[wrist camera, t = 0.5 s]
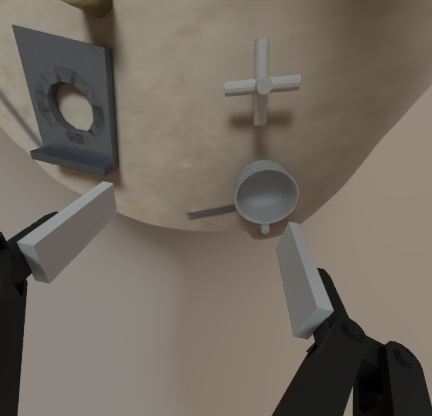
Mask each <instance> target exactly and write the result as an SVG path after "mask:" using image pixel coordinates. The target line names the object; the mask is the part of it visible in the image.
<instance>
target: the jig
mask: <svg viewBox="0 0 432 416" xmlns="http://www.w3.org/2000/svg"><path fill="white" fill-rule="evenodd" d="M12 27H13V31H14V35H15V39H16V43H17V46H18V50H19V54H20V58H21V62H22V66H23V70H24V73H25V77H26V81H27V85H28V89H29V93H30V96H31V100H32V104H33V108H34V112H35V116H36V120H37V123H38V127H39V131H40V135H41V139H42V143H43V147H42V148H39V149H35V150H32V151H30V153H31V156H32V159H35V160H39V161H43V162H47V163H52V164H56V165H60V166H64V167H68V168H73V169H77V170H81V171H85V172H89V173H94V174H98V175H102V176H106V175H107V174H109V173H110V172H112V171H113V170H115V169H116V168H118V167H119V165H118V148H117V132H116V115H115V98H114V82H113V65H112V49H108V48H105V47H101V46H97V45H93V44H89V43H85V42H81V41H77V40H73V39H68V38H64V37H60V36H56V35H52V34H48V33H44V32H40V31H36V30H32V29H28V28H24V27H20V26H16V25H12ZM64 83H70V84H73V85H74V86H75V87H77V88H78V89H79V90H80V91H81V92H83V93H84V94H85V96H86V98H87V99H88V101H89V103H90V105H91V107H92V111H93V120H94V121H93V123H92V125H91V127H90V129H89V130H87V131H84V130H80V129H76V128H75V127H73V126H72V125H71V124H70V123H68V122H67V121H66V120H65V119H64V117H63V115H62V114H61V112H60V111H59V109H58V105H57V100H56V94H57V91H58V88H59V86H60V85H62V84H64Z"/></svg>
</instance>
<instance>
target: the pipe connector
mask: <svg viewBox="0 0 432 416" xmlns="http://www.w3.org/2000/svg"><path fill="white" fill-rule="evenodd" d="M269 40H270V39H269V38H261V39H257V40H255V60H254V79H248V80H238V81H228V82H225V96H226V97H227V96H238V95H249V94H254V125H256V126H259V125H266V112H267V94H268V93H271V92H282V91H292V90H299V87H300V83H301V75H300V74H297V75H287V76H277V77H268V64H269Z"/></svg>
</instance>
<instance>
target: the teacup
mask: <svg viewBox="0 0 432 416" xmlns="http://www.w3.org/2000/svg"><path fill="white" fill-rule="evenodd" d="M298 200H299V187H298V184H297V182H296V180H295V179H294V178H293V177H292V176H291V175H290V174H289V173H288V171H287V170H286V169H285V168H284V167H283V166H281V165H280V164H278V163H276V162H274V161H270V160H259V161H255V162H252V163H250V164H248V165H247V166H246V167H244V168H243V169H242V170H241V172H240V173H239V175H238V177H237V179H236V182H235V193H234V204H235V207H236V209H237V211H238V213H239V214H240V215H241V216H242V217H243V218H244V219H246V220H248V221H249V222H252V223H257V224H260V230H261V233H262V234H268V233H269V232H270V225H269V224H271V223H275V222H278V221H280V220H282V219H284V218H286V217H287V216H288V215H289V214H291V212H292V211H293V210H294V209H295V207H296V205H297V203H298Z"/></svg>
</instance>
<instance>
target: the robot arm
mask: <svg viewBox="0 0 432 416" xmlns="http://www.w3.org/2000/svg"><path fill="white" fill-rule="evenodd" d="M116 214H117V211H116V202H115V193H114V183H109V182H104V181H103V182H101V183H100V184H99V185H97V186H96V187H94V188H93V189H92V190H90V191H89V192H87V193H86V194H84V195H83V196H82V197H80V198H79V199H77V200H76V201H75V202H73V203H72V204H70V205H69V206H67V207H66V208H65V209H63V210H62V211H60V212H53V213H51V214H48V215H45V216H44V217H42V218H41V219H39V220H38V221H37V222H35V223H33V224H32V225H31V226H30V227H27V228H26V229H24V230H23V231H21V232H20V233H18V234H17V235H15V236H14V237H12V238H11V239H9V240H8V241H6V240H5V238H4V236H3V234H2V232H0V416H17V414H18V402H19V389H20V375H21V363H22V350H23V337H24V323H25V310H26V296H27V280H26V278H27V277H28V276H29V275H30V274H31V273H32V274H33V276H34V279H35V280H36V281H40V282H45V283H49V284H50V283H51V282H52V281H53V280H54V279H55V278H56V276H58V274H59V273H60V272H61V271H62V270H63V269H64V268H65V267H66V266H67V265H68V264H69V263H70V262H71V261H72V260H73V259H74V258H75V257H76V256H77V255H78V254H79V253H80V252H81V250H83V249H84V247H85V246H86V245H87V244H88V243H89V242H90V241H91V240H92V239H93V238H94V237H95V236H96V235H97V234H98V233H99V232H100V231H101V230H102V229H103V228H104V227H105V226H106V225H107V224H108V223H109V221H110V220H111V219H112V218H113V217H114V216H115V215H116ZM276 250H277V255H278V261H279V266H280V271H281V276H282V281H283V286H284V291H285V296H286V301H287V305H288V310H289V316H290V320H291V325H292V331H293V336H294V337H299V338H304V339H309V337H310V336H311V335H312V334H313V336H314V339H315V343H314V344H313V345H312V346H311V347H310V348H309V349H308V350H307V352H308V354H307V355H306V357H305V359H304V360H303V362H302V364H301V366H300V367H299V369H298V371H297V373H296V374H295V376H294V378H293V380H292V381H291V383H290V385H289V387H288V388H287V390H286V392H285V393H284V395H283V397H282V399H281V400H280V402H279V404H278V406H277V407H276V409H275V411H274V412H273V415H272V416H343V414H344V411H345V408H346V405H347V402H348V399H349V396H350V393H351V390H352V387H353V416H432V406H431V402H430V397H429V393H428V390H427V385H426V381H425V377H424V373H423V369H422V367H421V364H420V363H419V361H418V360H417V358H416V357H415V356H414V354H413V353H412V352H410V350H409V349H407V348H406V347H404V346H403V345H402V344H399V343H397V342H395V341H389V342H388V343H387V344H385V345H384V344H382V343H380V342H378V341H376V340H374V339H372V338H370V337H368V336H366V335H365V333H364V331H363V330H362V328H361V327H360V326H359V325H358V324H357V323H356V322H354V321H353V320H351V319H350V318H349V317H348V315H347V312H346V310H345V308H344V306H343V303H342V301H341V299H340V297H339V295H338V293H337V290H336V288H335V287H334V284H333V281H332V279H331V277H330V276H329V275H328V273H327V272H326V271H325V270H324V269H320V268H317V267H316V265H315V263H314V260H313V257H312V255H311V252H310V250H309V247H308V245H307V242H306V240H305V237H304V235H303V233H302V230H301V227H300V225H299V224H298V223H293V222H288V224H287V226H286V229H285V231H284V233H283V235H282V237H281V239H280V241H279V244H278V245H277V247H276Z"/></svg>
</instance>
